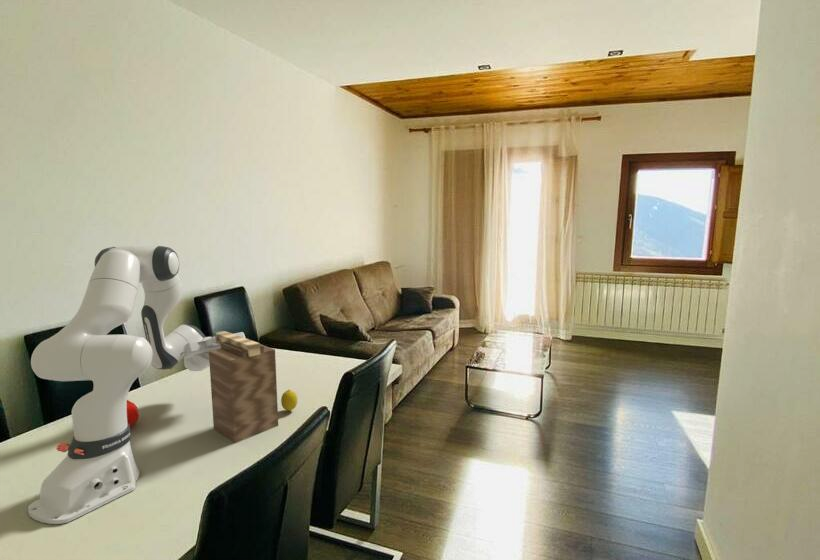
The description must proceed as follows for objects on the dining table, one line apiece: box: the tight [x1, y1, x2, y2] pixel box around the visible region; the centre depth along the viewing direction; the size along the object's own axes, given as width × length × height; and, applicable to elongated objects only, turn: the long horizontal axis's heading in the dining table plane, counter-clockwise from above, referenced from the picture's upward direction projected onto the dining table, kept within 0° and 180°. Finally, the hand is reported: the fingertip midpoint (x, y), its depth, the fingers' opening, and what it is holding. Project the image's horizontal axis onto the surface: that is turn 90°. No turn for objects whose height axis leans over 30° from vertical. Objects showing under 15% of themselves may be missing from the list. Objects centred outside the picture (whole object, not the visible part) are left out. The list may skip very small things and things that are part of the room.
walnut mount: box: [209, 342, 279, 444], centre depth 138 cm, size 15×14×28 cm
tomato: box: [127, 399, 140, 427], centre depth 137 cm, size 14×13×9 cm
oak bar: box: [212, 330, 261, 357], centre depth 139 cm, size 24×4×4 cm, turn 49°
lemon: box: [280, 389, 298, 412], centre depth 151 cm, size 6×6×8 cm
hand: (223, 337), depth 144 cm, fingers closed on oak bar, 3 cm apart
